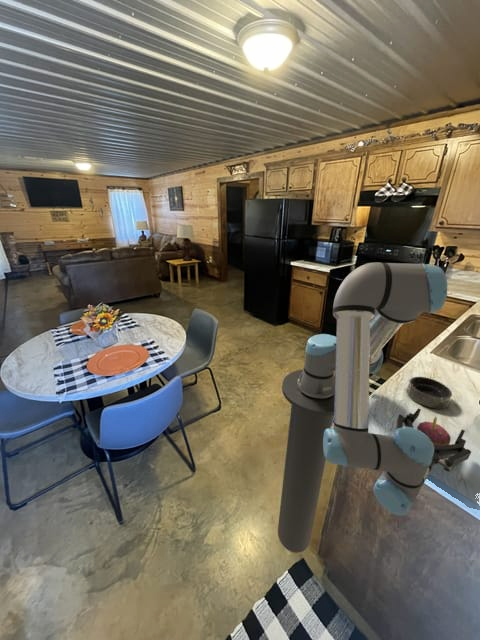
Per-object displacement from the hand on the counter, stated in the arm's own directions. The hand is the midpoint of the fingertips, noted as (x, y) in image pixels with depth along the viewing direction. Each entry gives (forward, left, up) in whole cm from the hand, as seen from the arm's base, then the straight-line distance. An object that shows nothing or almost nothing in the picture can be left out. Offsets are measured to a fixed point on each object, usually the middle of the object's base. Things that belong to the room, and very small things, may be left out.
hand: (439, 422), depth 81 cm
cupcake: (0, -4, -7) cm, 8 cm away
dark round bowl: (-8, +21, -7) cm, 23 cm away
